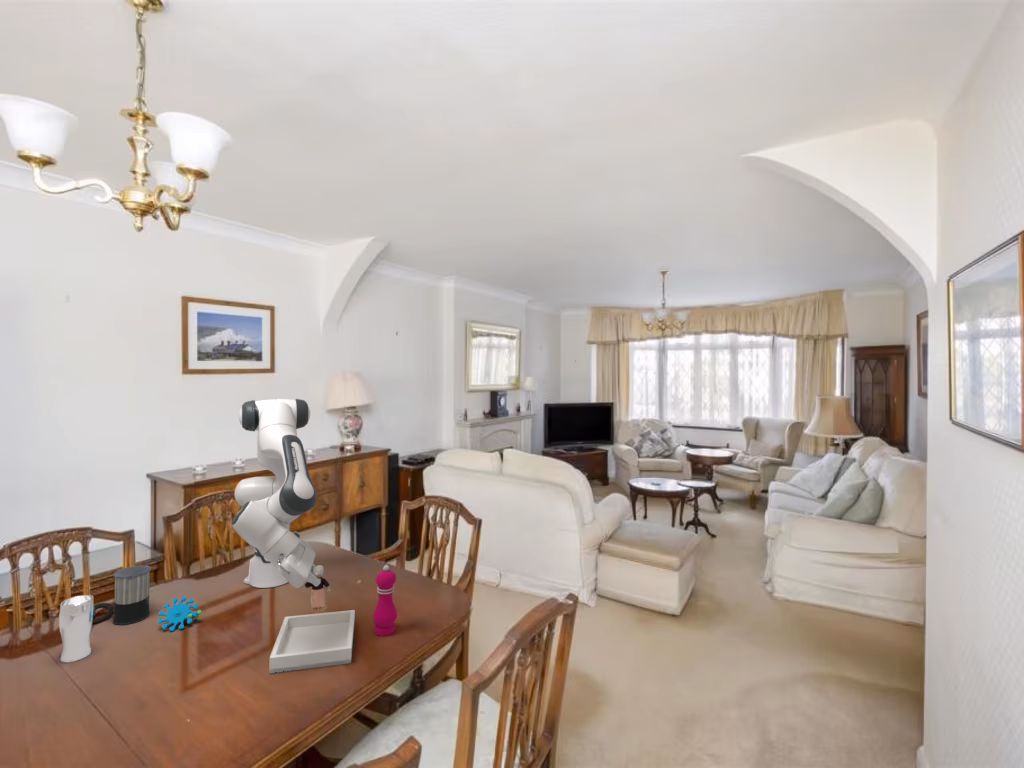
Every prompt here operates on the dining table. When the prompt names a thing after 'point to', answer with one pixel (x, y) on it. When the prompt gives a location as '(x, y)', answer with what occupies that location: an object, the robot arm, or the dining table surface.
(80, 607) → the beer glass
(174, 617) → the gear
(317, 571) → the grandmother figurine
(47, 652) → the dining table surface
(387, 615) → the pepper mill
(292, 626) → the tray
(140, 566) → the milk frother
